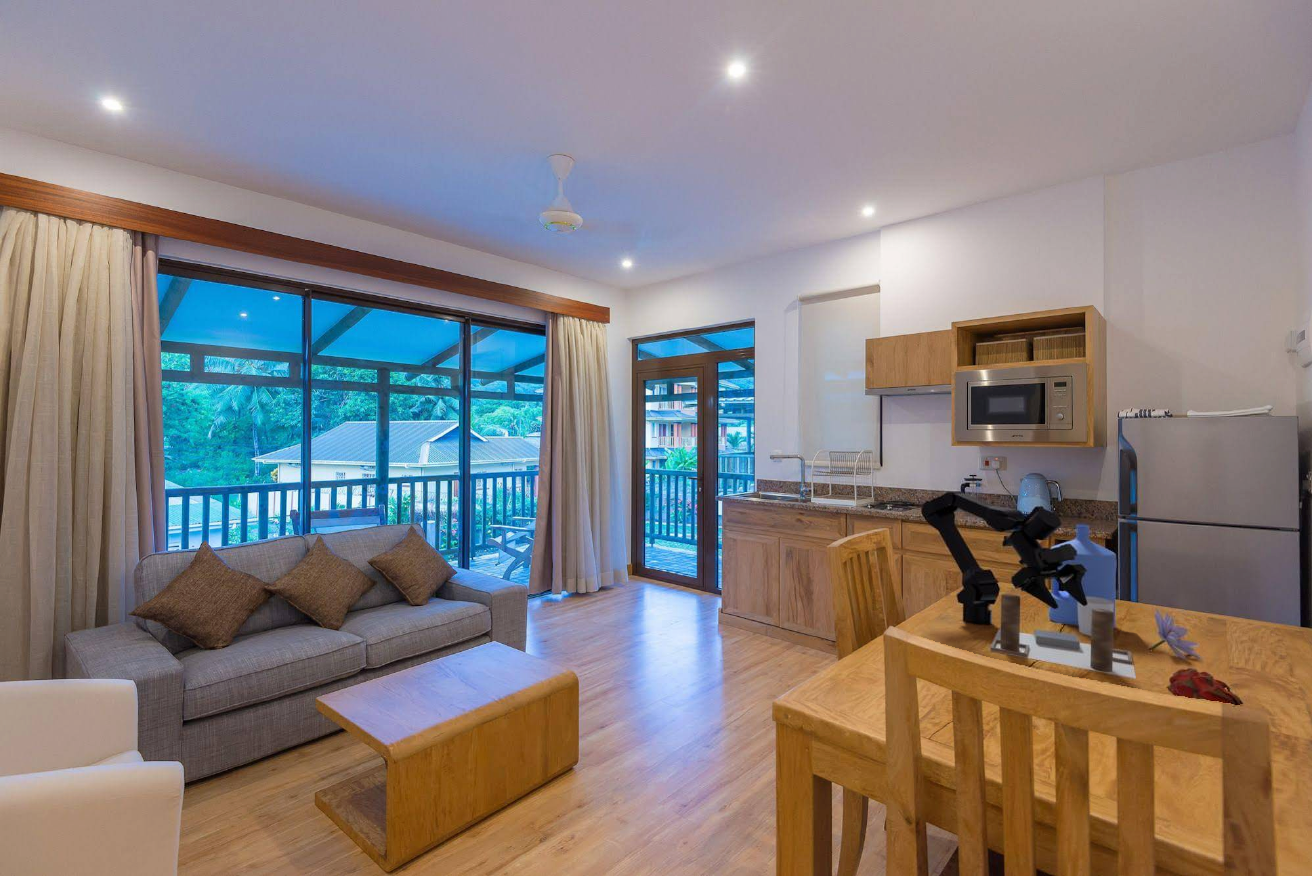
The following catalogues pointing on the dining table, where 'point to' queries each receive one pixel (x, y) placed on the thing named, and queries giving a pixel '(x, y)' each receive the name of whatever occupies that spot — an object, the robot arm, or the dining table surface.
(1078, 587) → the robot arm
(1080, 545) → the water jug
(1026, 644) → the board
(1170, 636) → the water lily
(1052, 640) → the cover
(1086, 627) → the white cup
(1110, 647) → the pin
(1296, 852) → the dining table surface
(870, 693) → the dining table surface
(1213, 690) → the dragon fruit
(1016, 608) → the pin
